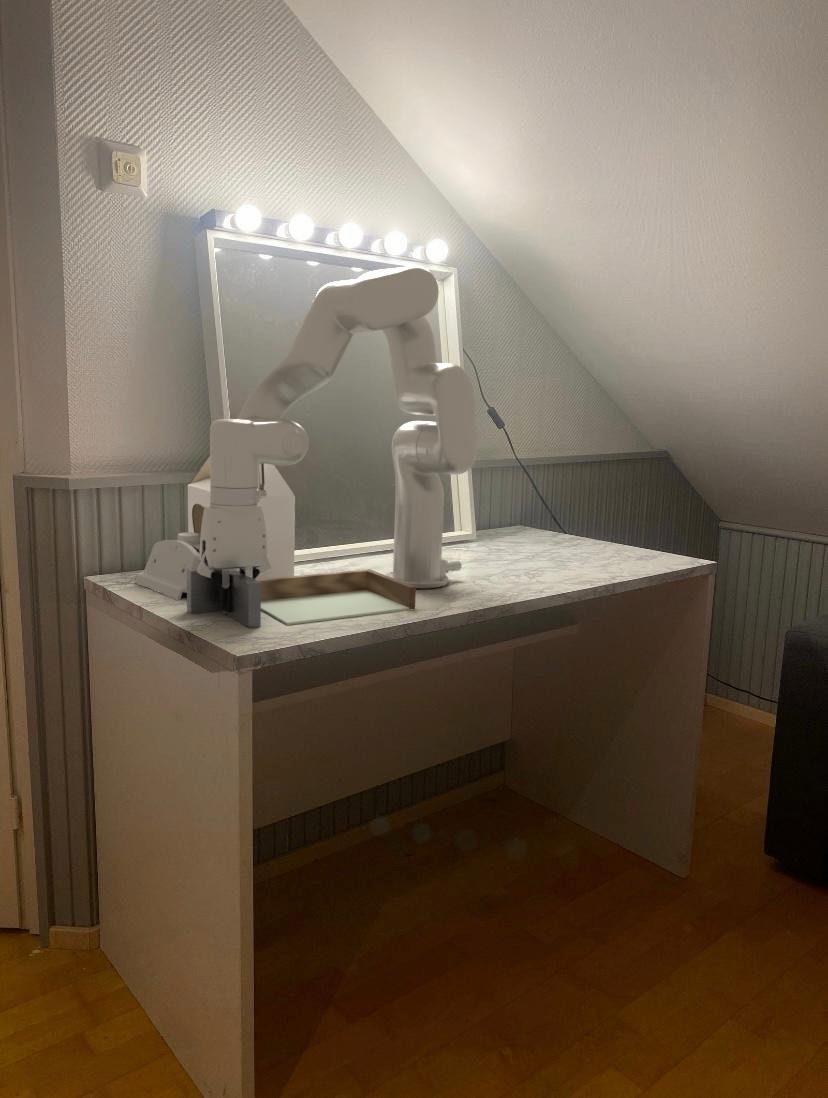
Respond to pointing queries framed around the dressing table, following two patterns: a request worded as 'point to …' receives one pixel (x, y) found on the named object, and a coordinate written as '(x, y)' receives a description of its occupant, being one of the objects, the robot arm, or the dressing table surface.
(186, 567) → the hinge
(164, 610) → the dressing table surface
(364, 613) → the sage mat
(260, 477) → the gable box
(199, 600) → the bracket
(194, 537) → the pill bottle
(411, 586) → the walnut wall short
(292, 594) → the walnut wall long
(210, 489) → the robot arm
